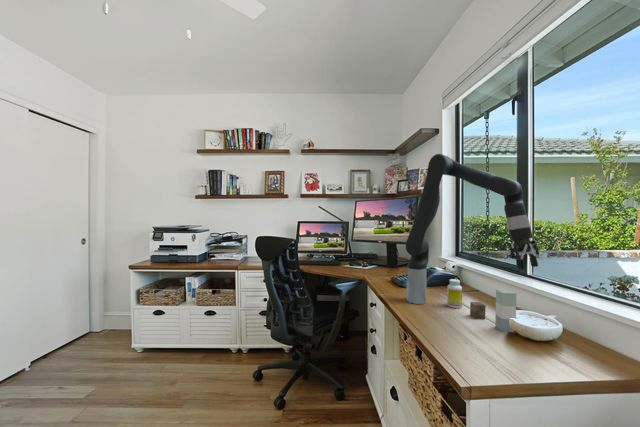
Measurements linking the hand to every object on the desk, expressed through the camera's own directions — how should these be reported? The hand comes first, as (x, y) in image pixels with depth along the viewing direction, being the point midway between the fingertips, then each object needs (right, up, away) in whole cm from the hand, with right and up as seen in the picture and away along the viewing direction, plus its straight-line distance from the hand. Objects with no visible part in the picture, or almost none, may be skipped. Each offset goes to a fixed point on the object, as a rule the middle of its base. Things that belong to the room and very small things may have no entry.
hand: (528, 268), depth 115 cm
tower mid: (-9, -19, 0) cm, 21 cm away
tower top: (-9, -14, 0) cm, 17 cm away
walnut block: (-13, -24, +13) cm, 31 cm away
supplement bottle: (-17, -24, +28) cm, 40 cm away
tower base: (-9, -24, 0) cm, 26 cm away
